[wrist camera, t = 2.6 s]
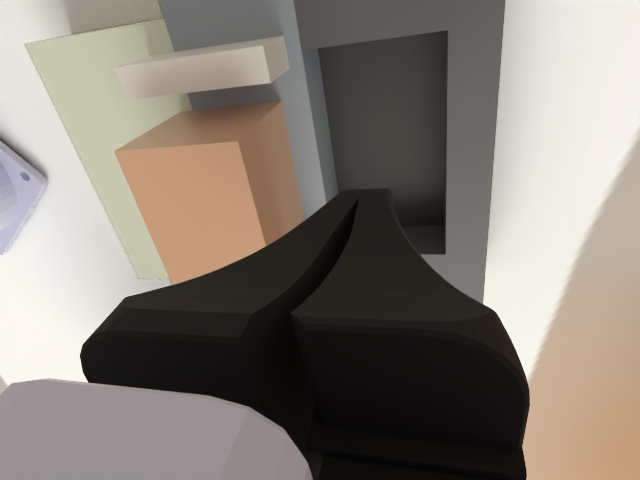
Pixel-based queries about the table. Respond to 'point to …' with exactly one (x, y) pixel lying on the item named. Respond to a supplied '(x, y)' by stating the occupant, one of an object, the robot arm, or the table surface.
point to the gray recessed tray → (378, 106)
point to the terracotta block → (214, 185)
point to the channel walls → (205, 68)
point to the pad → (109, 118)
